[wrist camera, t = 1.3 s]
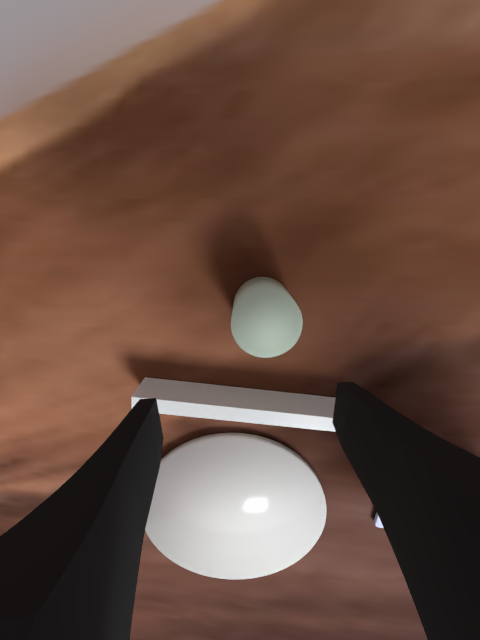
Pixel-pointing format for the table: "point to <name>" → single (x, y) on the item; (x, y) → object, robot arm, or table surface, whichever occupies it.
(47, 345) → the table surface
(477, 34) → the table surface
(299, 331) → the green cylinder
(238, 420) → the light grey rectangular bar
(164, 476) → the white plate
